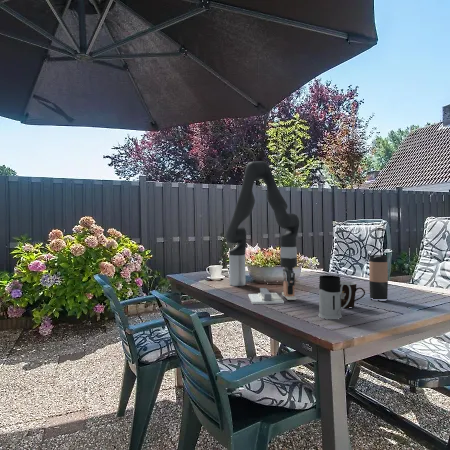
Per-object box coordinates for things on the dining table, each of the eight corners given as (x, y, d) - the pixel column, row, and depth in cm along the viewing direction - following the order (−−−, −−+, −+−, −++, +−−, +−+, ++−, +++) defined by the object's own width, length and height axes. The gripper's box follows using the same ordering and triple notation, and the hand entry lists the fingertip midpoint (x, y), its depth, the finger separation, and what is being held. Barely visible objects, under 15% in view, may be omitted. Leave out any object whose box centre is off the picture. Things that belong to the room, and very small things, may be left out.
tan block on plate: (281, 294, 162) (281, 279, 162) (290, 293, 162) (290, 279, 162) (287, 299, 150) (287, 284, 150) (296, 299, 150) (296, 284, 150)
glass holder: (329, 312, 133) (329, 274, 132) (359, 321, 120) (359, 279, 120) (313, 315, 128) (312, 276, 128) (342, 325, 116) (341, 281, 116)
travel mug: (386, 298, 155) (385, 255, 155) (389, 302, 148) (389, 256, 148) (368, 297, 157) (368, 255, 157) (370, 301, 150) (370, 256, 150)
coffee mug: (330, 305, 144) (330, 281, 144) (346, 303, 147) (346, 280, 147) (349, 311, 133) (349, 286, 133) (366, 309, 136) (366, 285, 136)
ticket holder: (248, 296, 163) (248, 287, 163) (277, 295, 164) (276, 287, 164) (252, 304, 147) (252, 294, 147) (284, 303, 148) (284, 294, 148)
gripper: (277, 255, 163) (277, 290, 163) (283, 258, 148) (284, 296, 148) (292, 254, 163) (293, 289, 163) (300, 258, 149) (300, 296, 149)
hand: (288, 292), depth 156 cm, fingers closed on tan block on plate, 5 cm apart
